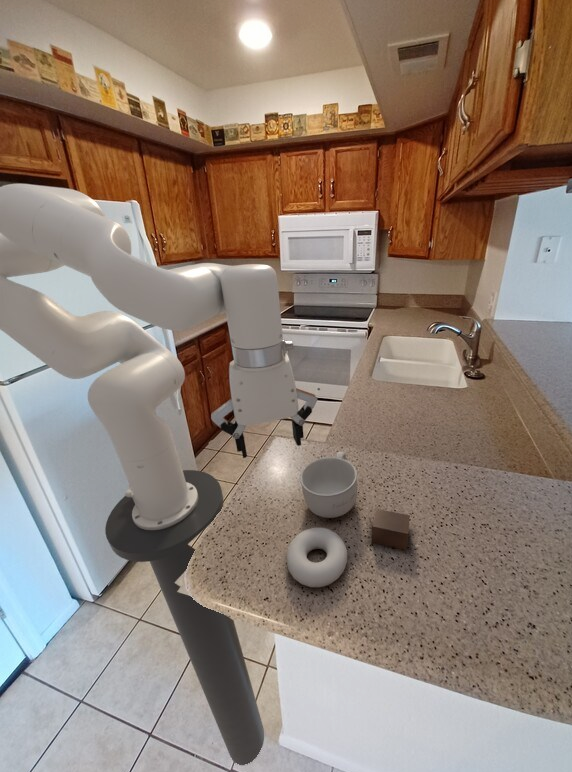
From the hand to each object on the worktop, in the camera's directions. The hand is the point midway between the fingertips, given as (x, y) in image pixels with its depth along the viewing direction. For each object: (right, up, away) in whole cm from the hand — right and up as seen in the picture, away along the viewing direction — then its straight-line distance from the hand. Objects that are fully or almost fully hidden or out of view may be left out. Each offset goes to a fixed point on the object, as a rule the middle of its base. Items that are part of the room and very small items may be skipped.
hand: (271, 446), depth 56 cm
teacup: (+11, -13, +10) cm, 20 cm away
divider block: (+21, -16, +1) cm, 26 cm away
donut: (+8, -19, -2) cm, 21 cm away
